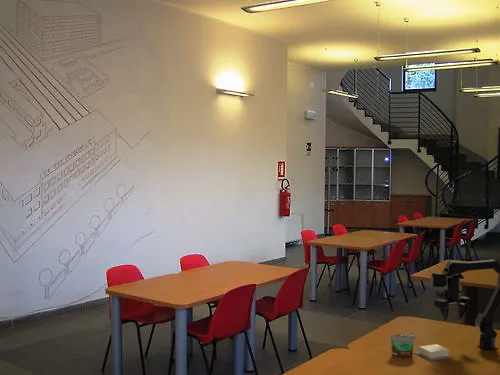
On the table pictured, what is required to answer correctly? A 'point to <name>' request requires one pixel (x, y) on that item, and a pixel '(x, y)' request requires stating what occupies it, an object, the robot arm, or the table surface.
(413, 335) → the food container
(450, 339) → the table surface
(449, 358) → the rubber mat
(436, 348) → the glazed tile
